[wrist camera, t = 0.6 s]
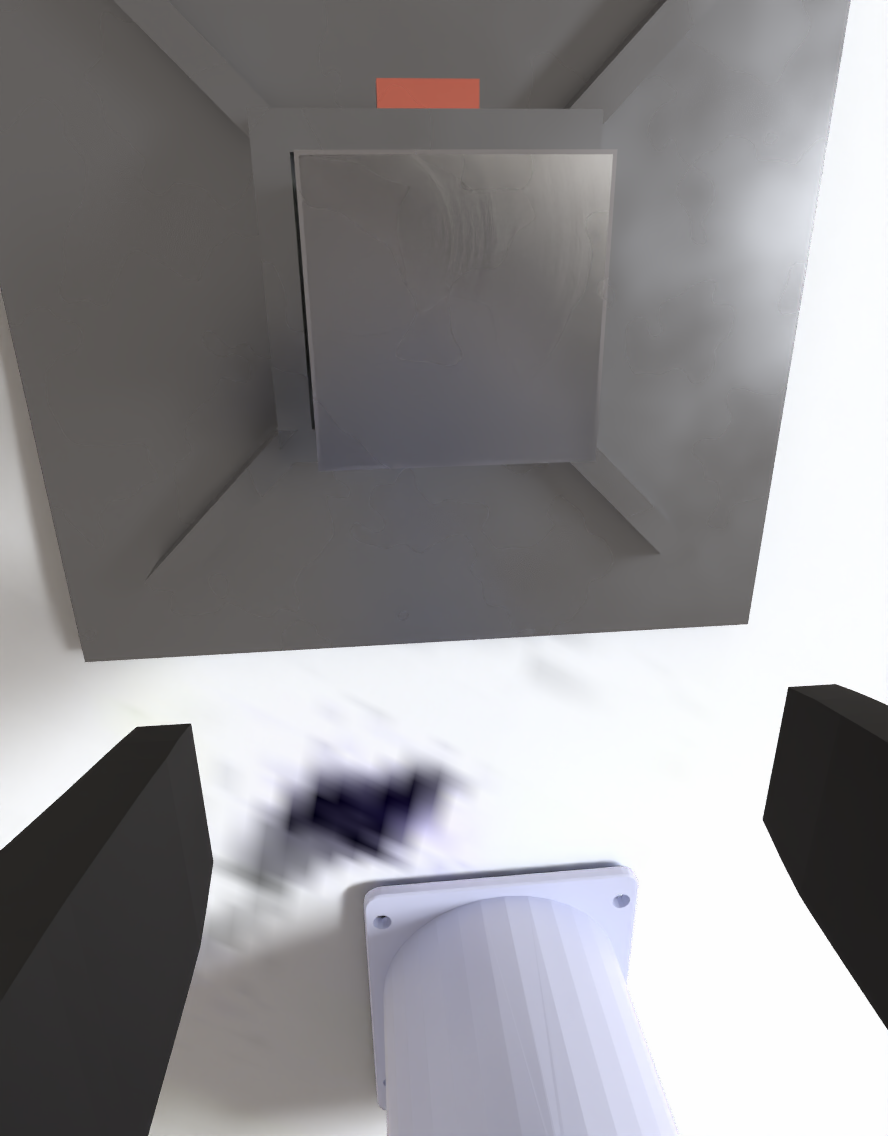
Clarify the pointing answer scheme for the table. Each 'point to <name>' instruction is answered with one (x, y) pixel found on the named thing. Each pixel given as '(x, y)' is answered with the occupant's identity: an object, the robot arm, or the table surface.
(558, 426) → the grey rectangular block
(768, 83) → the stand base
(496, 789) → the table surface
